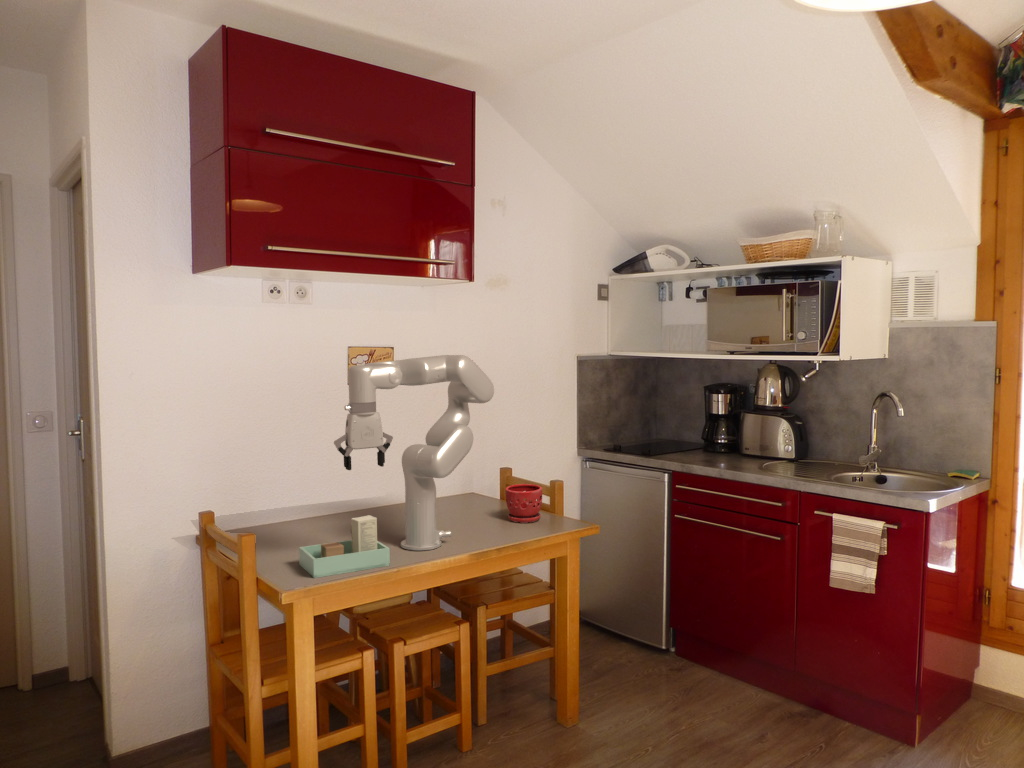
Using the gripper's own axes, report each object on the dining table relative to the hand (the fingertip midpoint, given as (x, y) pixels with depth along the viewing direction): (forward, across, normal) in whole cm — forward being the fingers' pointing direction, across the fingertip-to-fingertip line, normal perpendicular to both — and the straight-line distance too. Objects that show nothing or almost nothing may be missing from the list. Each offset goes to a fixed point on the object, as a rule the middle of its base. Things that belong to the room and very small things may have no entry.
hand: (364, 467), depth 214 cm
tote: (+27, -7, -1) cm, 28 cm away
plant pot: (+29, +65, +19) cm, 73 cm away
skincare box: (+27, -1, -1) cm, 27 cm away
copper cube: (+26, -10, +1) cm, 28 cm away
